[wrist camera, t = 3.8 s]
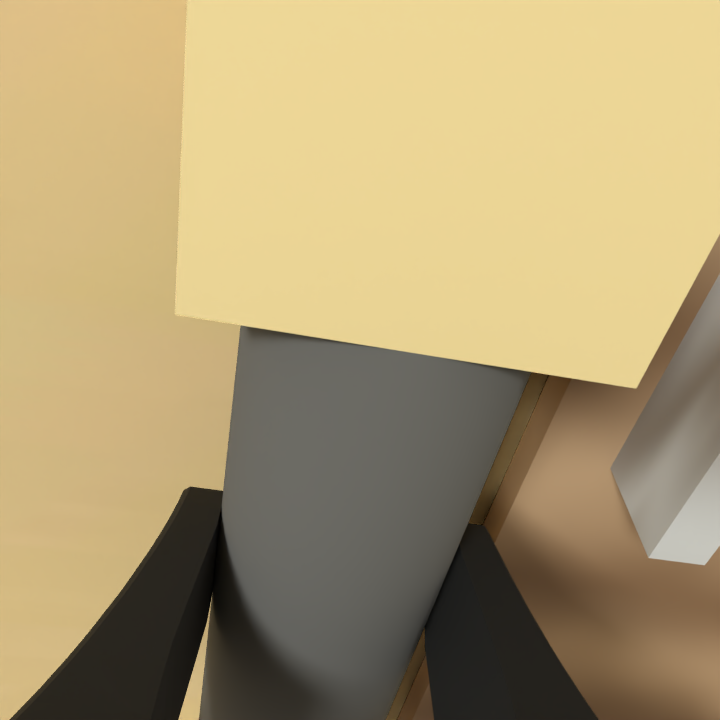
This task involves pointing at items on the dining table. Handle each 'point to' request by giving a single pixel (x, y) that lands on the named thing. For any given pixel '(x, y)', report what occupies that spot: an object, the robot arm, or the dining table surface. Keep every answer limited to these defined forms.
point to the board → (624, 527)
